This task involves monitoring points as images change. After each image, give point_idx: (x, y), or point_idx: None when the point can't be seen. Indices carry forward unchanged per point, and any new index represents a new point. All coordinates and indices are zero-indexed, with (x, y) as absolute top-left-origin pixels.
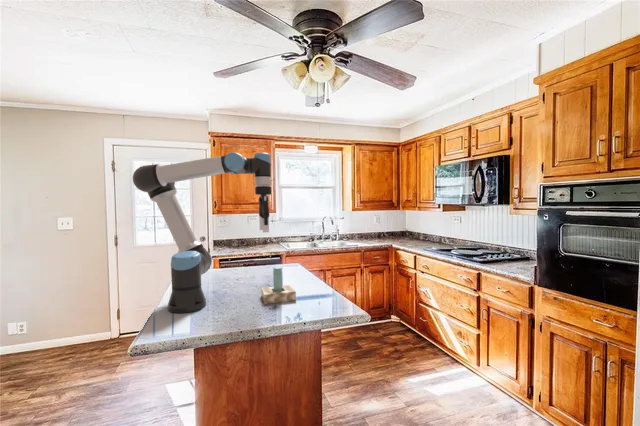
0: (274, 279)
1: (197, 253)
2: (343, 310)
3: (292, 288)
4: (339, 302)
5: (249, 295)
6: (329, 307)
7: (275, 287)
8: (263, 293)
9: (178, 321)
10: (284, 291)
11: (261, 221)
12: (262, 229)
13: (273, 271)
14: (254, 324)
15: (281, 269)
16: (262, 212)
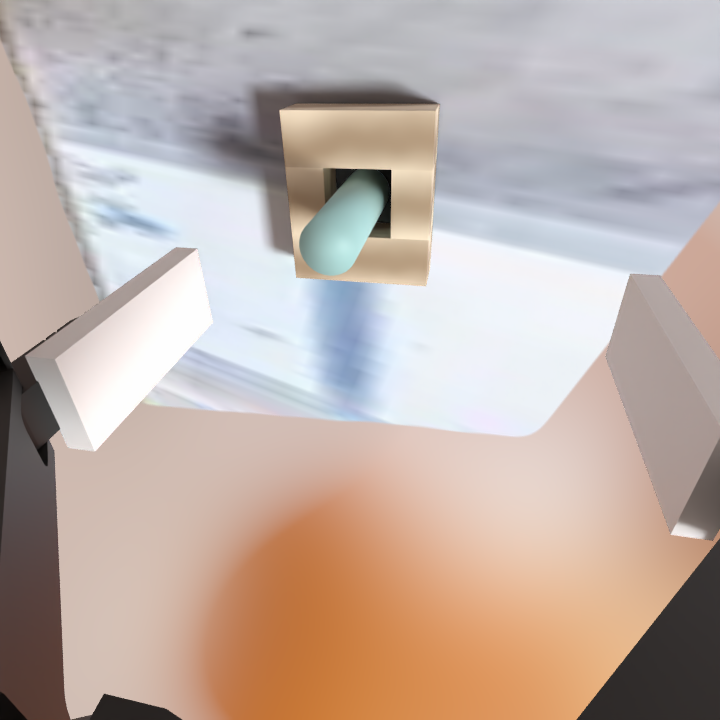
0: (329, 200)
1: None
2: (175, 371)
3: (357, 278)
4: (255, 392)
5: (499, 21)
6: (209, 346)
7: (336, 191)
8: (321, 109)
9: None
10: None
11: (665, 392)
12: (617, 319)
13: (326, 211)
14: (45, 21)
15: (313, 265)
16: (3, 451)
